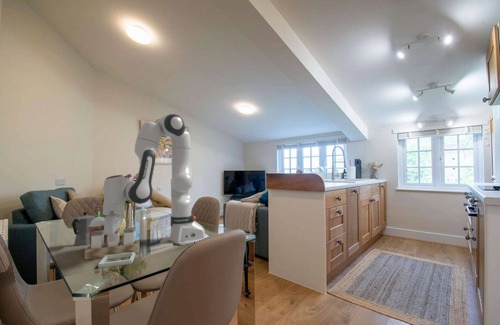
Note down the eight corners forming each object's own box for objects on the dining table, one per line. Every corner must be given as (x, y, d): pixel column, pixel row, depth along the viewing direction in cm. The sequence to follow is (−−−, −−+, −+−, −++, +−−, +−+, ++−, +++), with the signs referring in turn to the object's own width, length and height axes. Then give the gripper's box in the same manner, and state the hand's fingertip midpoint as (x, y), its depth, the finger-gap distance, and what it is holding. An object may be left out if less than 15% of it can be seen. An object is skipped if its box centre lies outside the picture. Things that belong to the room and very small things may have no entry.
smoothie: (90, 250, 116) (91, 210, 117) (109, 247, 119) (110, 209, 120) (86, 255, 108) (86, 213, 109) (106, 253, 112) (107, 212, 113)
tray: (135, 258, 104) (135, 251, 104) (131, 267, 95) (131, 259, 95) (105, 262, 100) (105, 255, 100) (98, 271, 91) (98, 264, 91)
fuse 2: (134, 249, 111) (134, 227, 112) (133, 252, 107) (133, 229, 108) (125, 251, 110) (125, 228, 110) (123, 253, 106) (123, 230, 106)
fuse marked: (119, 251, 109) (119, 228, 110) (117, 254, 105) (117, 230, 106) (109, 252, 108) (110, 229, 108) (107, 255, 104) (107, 231, 104)
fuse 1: (104, 253, 107) (104, 229, 107) (101, 256, 103) (101, 232, 104) (93, 254, 106) (94, 230, 106) (90, 257, 102) (91, 232, 102)
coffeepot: (84, 241, 131) (84, 210, 132) (100, 241, 131) (101, 209, 132) (62, 250, 116) (63, 215, 116) (81, 250, 116) (82, 215, 117)
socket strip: (139, 251, 113) (139, 240, 113) (137, 256, 107) (137, 244, 107) (89, 257, 106) (90, 245, 107) (84, 263, 100) (84, 250, 100)
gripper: (116, 212, 98) (116, 245, 98) (125, 206, 118) (125, 233, 117) (99, 214, 96) (99, 247, 96) (111, 207, 116) (111, 234, 115)
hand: (113, 239), depth 107 cm, fingers open, 6 cm apart
